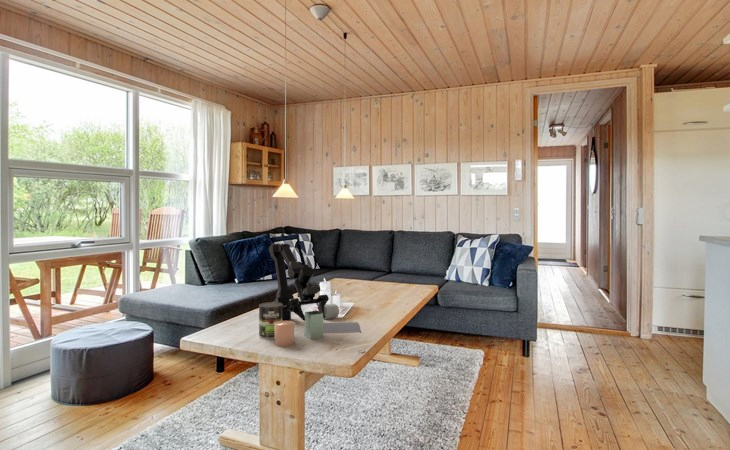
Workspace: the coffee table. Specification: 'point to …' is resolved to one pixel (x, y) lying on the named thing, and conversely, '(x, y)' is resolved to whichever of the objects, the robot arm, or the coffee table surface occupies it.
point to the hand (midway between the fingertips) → (314, 318)
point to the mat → (341, 327)
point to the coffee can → (269, 318)
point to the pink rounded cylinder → (284, 333)
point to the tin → (313, 324)
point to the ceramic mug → (330, 311)
